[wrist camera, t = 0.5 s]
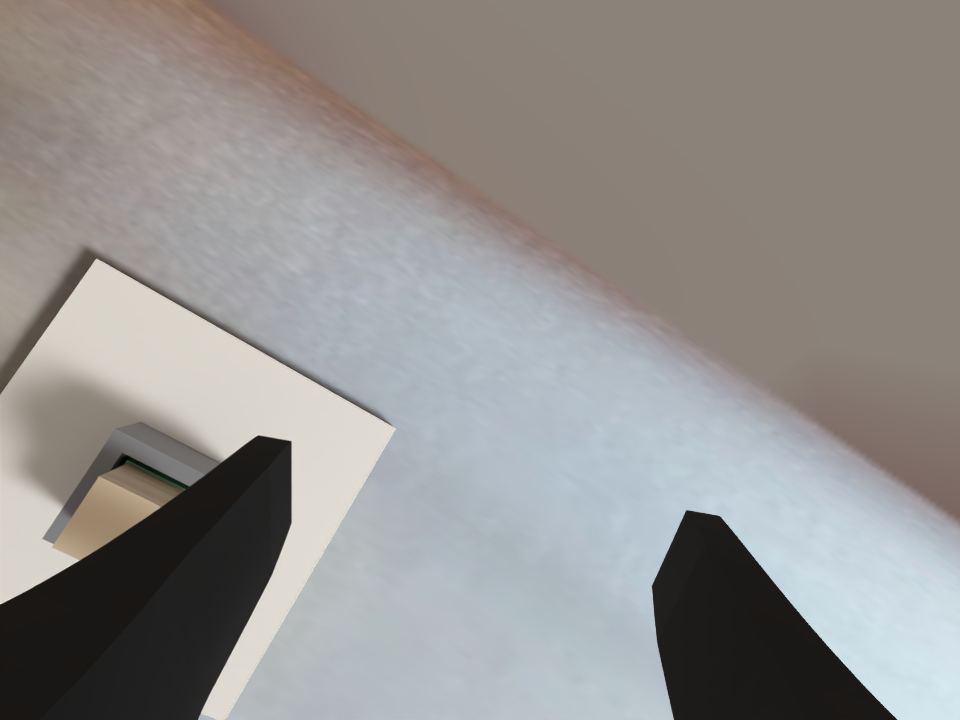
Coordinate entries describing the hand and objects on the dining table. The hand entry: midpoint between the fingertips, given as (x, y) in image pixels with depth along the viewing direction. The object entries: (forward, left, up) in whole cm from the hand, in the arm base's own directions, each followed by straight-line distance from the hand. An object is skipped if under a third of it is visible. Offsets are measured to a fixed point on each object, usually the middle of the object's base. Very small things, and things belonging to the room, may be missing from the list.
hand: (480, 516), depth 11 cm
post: (-9, +8, -24) cm, 27 cm away
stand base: (-9, +8, -25) cm, 28 cm away
